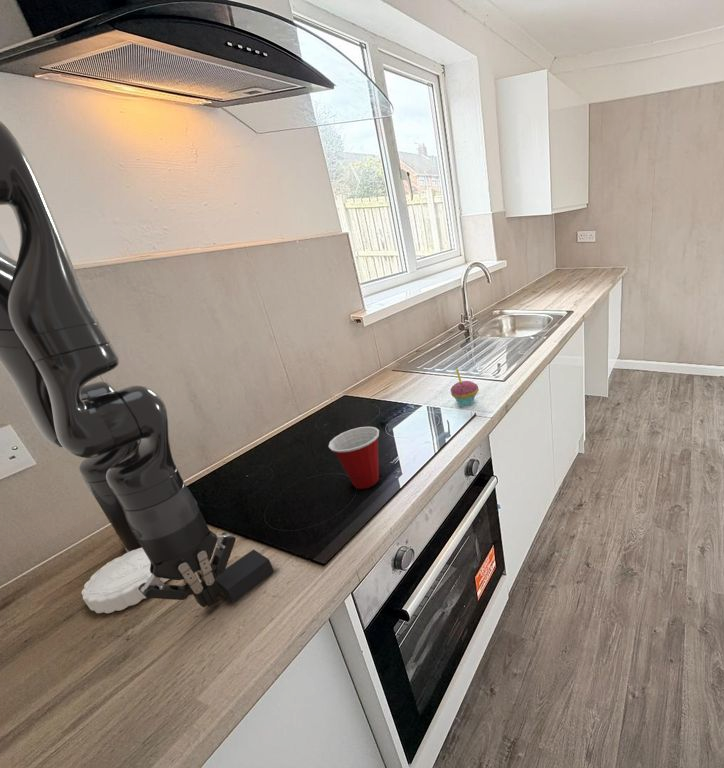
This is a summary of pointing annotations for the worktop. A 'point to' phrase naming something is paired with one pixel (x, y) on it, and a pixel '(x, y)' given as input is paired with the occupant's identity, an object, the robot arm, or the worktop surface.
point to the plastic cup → (358, 455)
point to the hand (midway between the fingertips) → (211, 602)
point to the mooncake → (118, 583)
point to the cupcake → (464, 391)
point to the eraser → (243, 575)
